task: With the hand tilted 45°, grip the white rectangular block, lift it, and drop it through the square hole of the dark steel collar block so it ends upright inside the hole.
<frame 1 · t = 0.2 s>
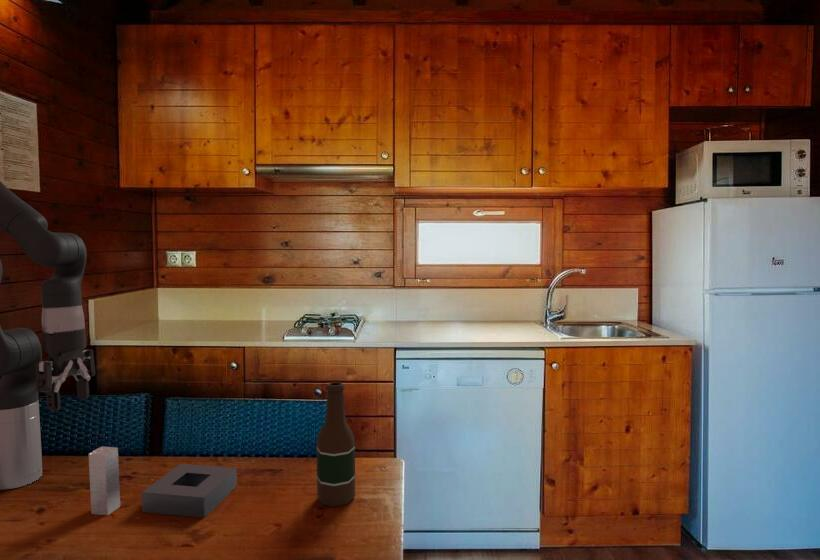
hand: (69, 404, 113), 18 cm above the table, tool pointing down, fingers open, 8 cm apart
white rectangular block: (106, 509, 105), on the table
collar block: (192, 498, 110), on the table
beer bottle: (336, 499, 110), on the table
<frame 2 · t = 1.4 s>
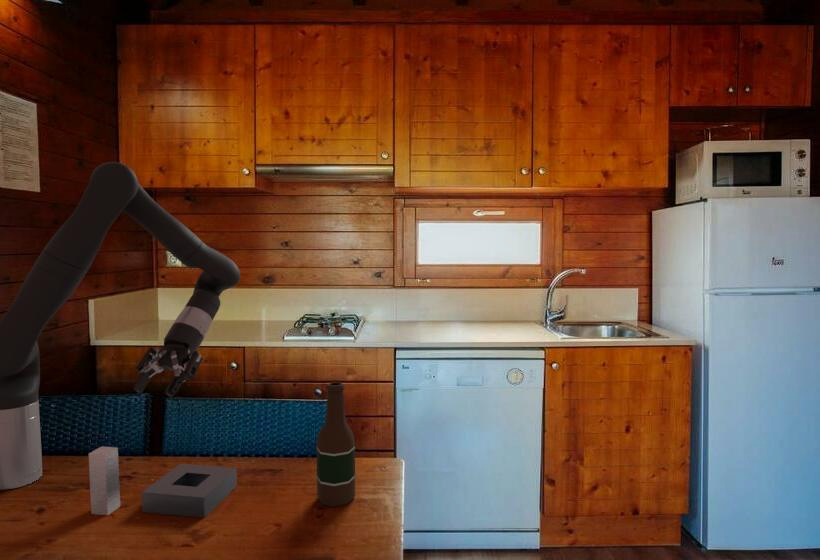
hand: (152, 392, 115), 20 cm above the table, tool tilted 45°, fingers open, 8 cm apart
nothing on the table moved.
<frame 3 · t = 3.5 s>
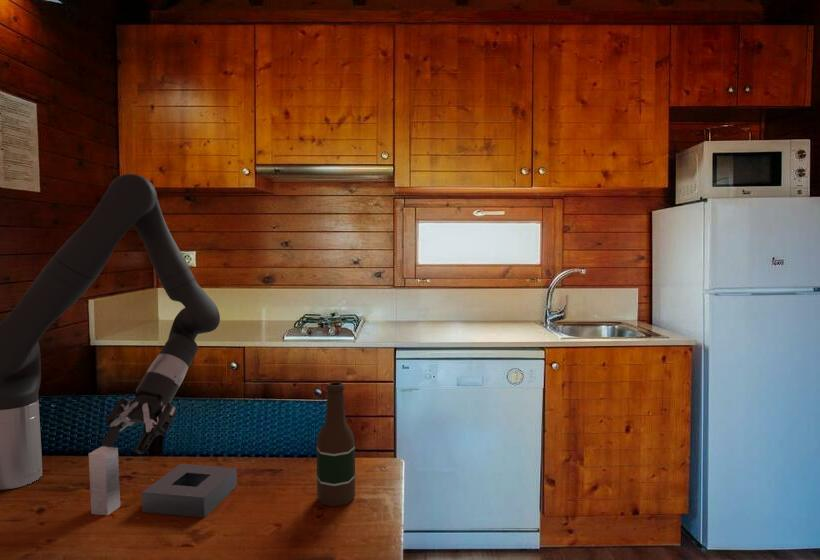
hand: (122, 449, 108), 10 cm above the table, tool tilted 45°, fingers open, 8 cm apart
nothing on the table moved.
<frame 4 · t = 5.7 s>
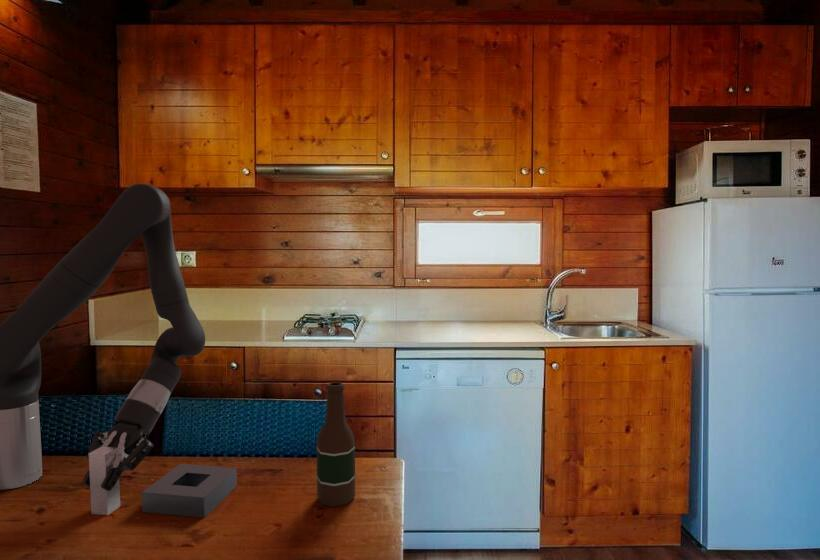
hand: (96, 486, 103), 6 cm above the table, tool tilted 45°, fingers closed on white rectangular block, 4 cm apart
white rectangular block: (106, 509, 105), on the table, touching gripper
everything else where it was.
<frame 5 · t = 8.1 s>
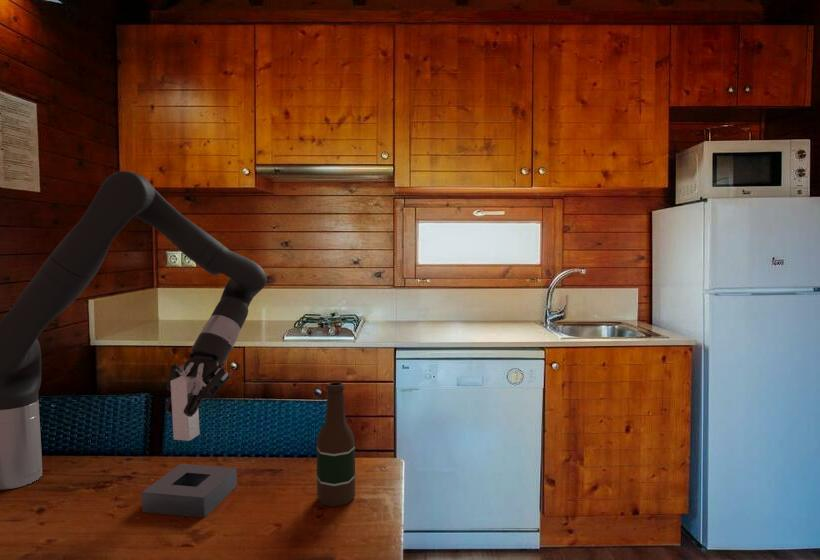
hand: (178, 413, 106), 19 cm above the table, tool tilted 45°, fingers closed on white rectangular block, 4 cm apart
white rectangular block: (186, 436, 108), point 13 cm above the table, touching gripper
everything else where it was.
when the fingers open (8 cm above the table, at t = 10.5 s): white rectangular block drops 2 cm, resting in collar block.
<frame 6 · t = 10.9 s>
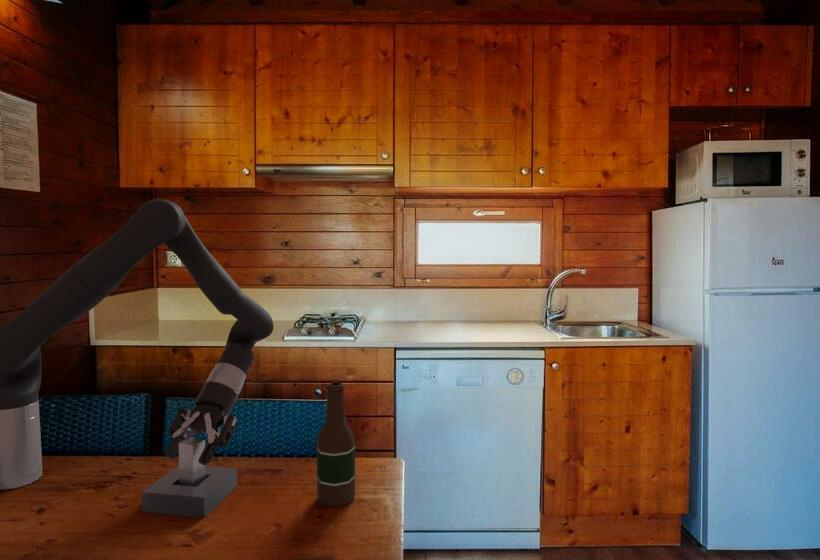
hand: (185, 460, 108), 9 cm above the table, tool tilted 45°, fingers open, 7 cm apart
white rectangular block: (192, 497, 110), resting in collar block
everything else where it was.
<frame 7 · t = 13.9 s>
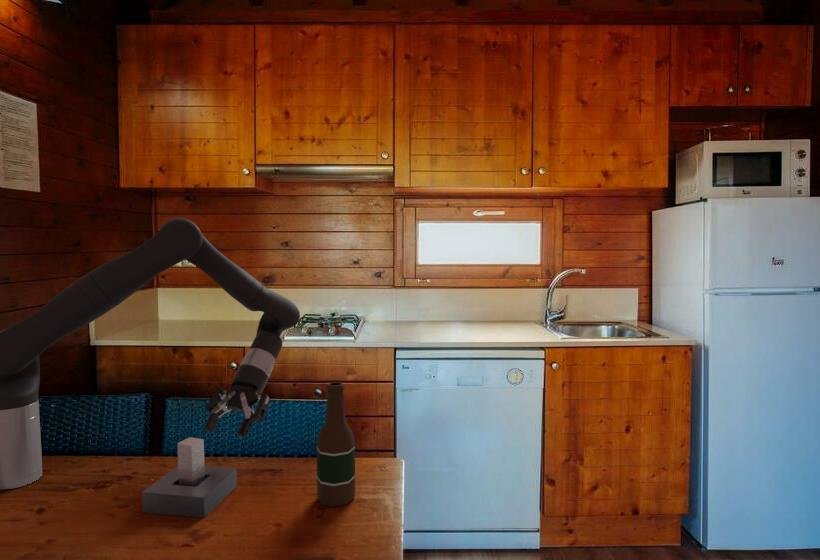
hand: (224, 434, 120), 9 cm above the table, tool tilted 45°, fingers open, 8 cm apart
nothing on the table moved.
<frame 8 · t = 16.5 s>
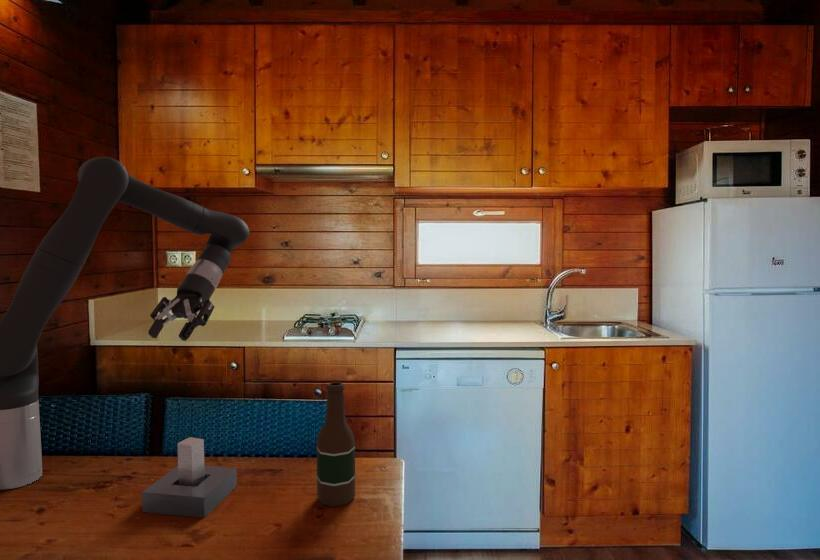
hand: (166, 337, 120), 31 cm above the table, tool tilted 45°, fingers open, 8 cm apart
nothing on the table moved.
at the end: white rectangular block 0.1 cm off-centre on the collar block, point 0.0 cm above the collar block's base; white rectangular block tilted 0°; the gripper is holding nothing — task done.
